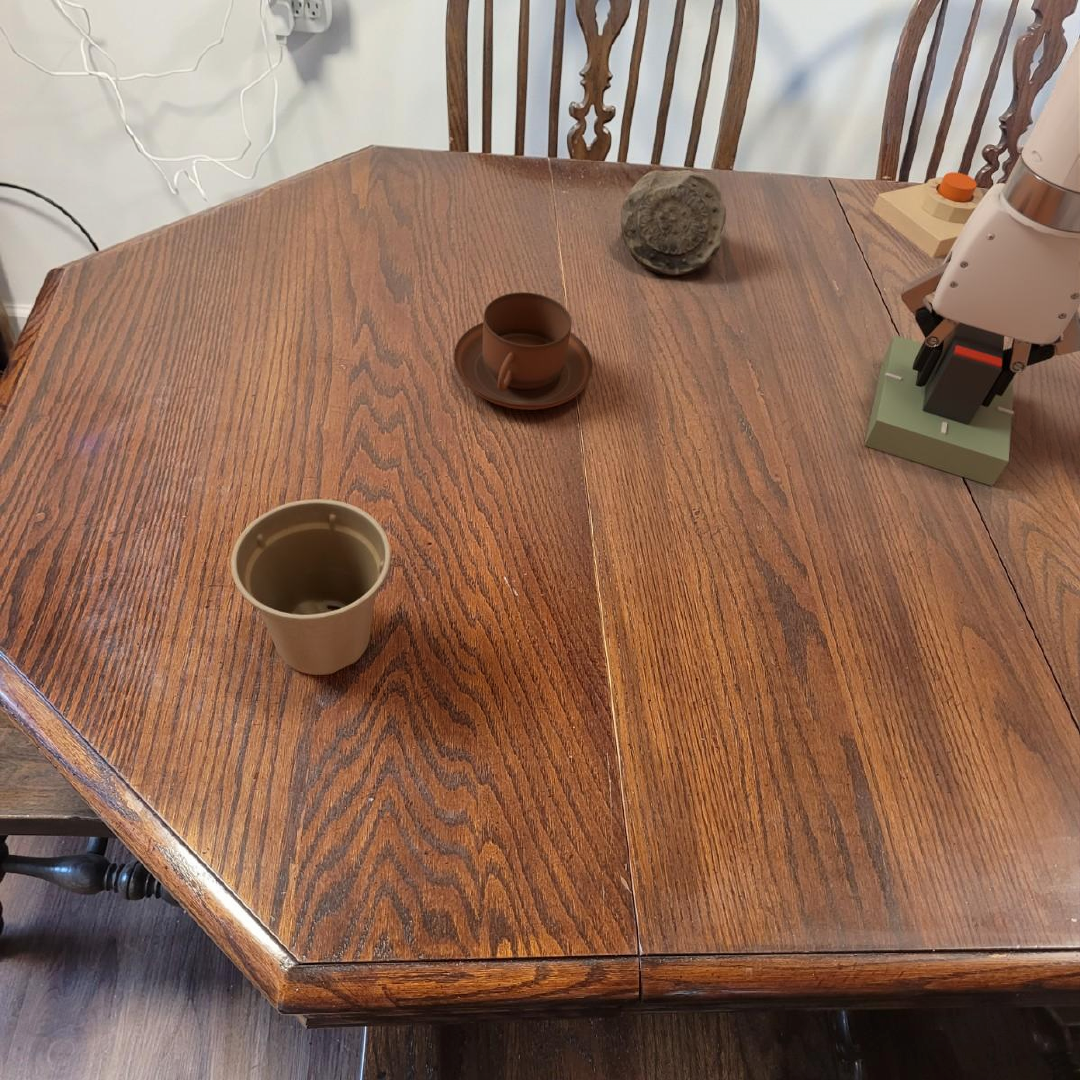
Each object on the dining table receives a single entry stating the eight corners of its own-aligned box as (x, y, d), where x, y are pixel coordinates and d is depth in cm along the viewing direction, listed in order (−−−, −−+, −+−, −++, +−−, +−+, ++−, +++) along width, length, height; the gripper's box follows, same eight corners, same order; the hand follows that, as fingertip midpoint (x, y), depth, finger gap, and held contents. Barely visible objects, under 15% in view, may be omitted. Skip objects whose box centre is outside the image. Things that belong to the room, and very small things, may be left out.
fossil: (635, 283, 92) (632, 174, 89) (604, 273, 101) (599, 173, 97) (736, 271, 95) (737, 164, 91) (697, 262, 103) (696, 164, 99)
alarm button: (953, 184, 106) (960, 169, 105) (976, 200, 104) (984, 185, 103) (930, 189, 105) (937, 175, 103) (953, 206, 103) (960, 191, 101)
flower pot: (247, 590, 65) (228, 506, 58) (384, 573, 67) (380, 490, 61) (253, 707, 59) (232, 629, 53) (402, 685, 61) (401, 607, 55)
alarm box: (946, 194, 112) (961, 162, 109) (1008, 238, 107) (1025, 206, 104) (871, 211, 108) (884, 178, 105) (932, 258, 102) (948, 225, 99)
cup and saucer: (592, 427, 79) (602, 370, 75) (449, 417, 78) (451, 358, 74) (586, 338, 87) (596, 281, 82) (457, 328, 86) (459, 270, 81)
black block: (929, 364, 85) (959, 306, 80) (974, 377, 84) (1007, 320, 79) (921, 410, 80) (953, 352, 75) (969, 425, 80) (1003, 367, 75)
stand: (881, 359, 89) (894, 333, 87) (1000, 395, 88) (1016, 369, 85) (862, 445, 81) (876, 418, 79) (993, 486, 79) (1011, 460, 77)
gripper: (1179, 201, 69) (1052, 391, 83) (947, 140, 71) (861, 334, 85) (1188, 251, 64) (1051, 444, 78) (938, 184, 67) (849, 382, 81)
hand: (953, 385), depth 81 cm, fingers open, 4 cm apart
